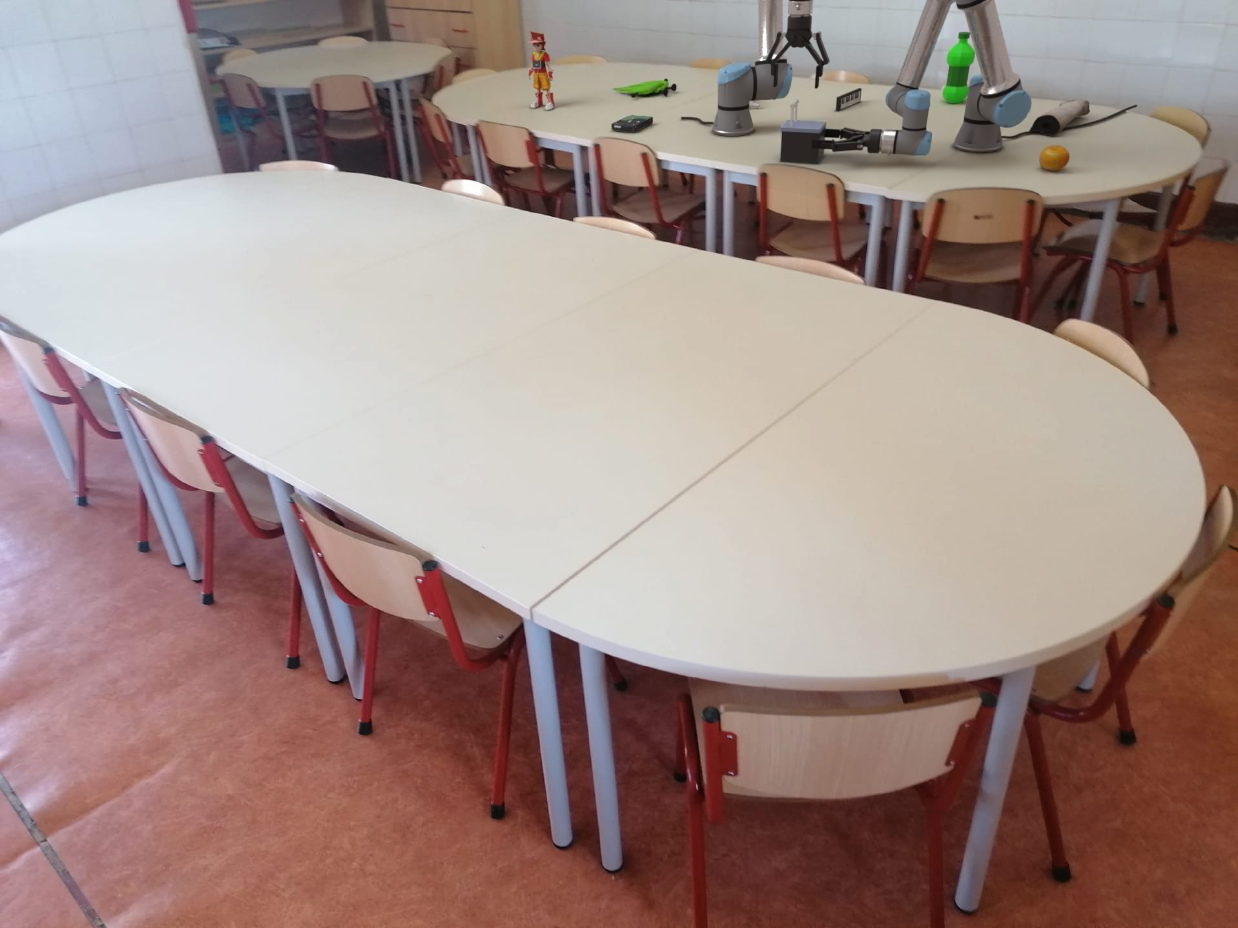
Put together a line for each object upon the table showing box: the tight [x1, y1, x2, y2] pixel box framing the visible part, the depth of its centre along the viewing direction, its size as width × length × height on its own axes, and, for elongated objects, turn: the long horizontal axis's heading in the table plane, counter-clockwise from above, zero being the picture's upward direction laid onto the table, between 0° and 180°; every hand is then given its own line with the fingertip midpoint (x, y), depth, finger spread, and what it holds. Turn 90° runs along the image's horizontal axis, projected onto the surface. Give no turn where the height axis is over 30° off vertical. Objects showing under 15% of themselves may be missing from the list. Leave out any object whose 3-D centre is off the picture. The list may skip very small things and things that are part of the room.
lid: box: [779, 98, 827, 133], centre depth 296 cm, size 13×10×8 cm
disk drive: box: [610, 114, 654, 133], centre depth 348 cm, size 10×3×15 cm
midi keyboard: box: [835, 87, 863, 112], centre depth 357 cm, size 18×1×5 cm, turn 138°
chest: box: [779, 125, 827, 165], centre depth 301 cm, size 13×10×10 cm
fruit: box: [1038, 144, 1071, 172], centre depth 279 cm, size 8×8×8 cm
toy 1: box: [527, 31, 556, 111], centre depth 374 cm, size 12×9×30 cm
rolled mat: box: [1028, 99, 1091, 137], centre depth 319 cm, size 30×9×10 cm
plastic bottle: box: [942, 31, 976, 104], centre depth 348 cm, size 10×10×25 cm
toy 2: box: [612, 78, 677, 99], centre depth 396 cm, size 28×5×30 cm
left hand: (795, 87), depth 292 cm, fingers open, 13 cm apart
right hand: (815, 138), depth 298 cm, fingers open, 13 cm apart
